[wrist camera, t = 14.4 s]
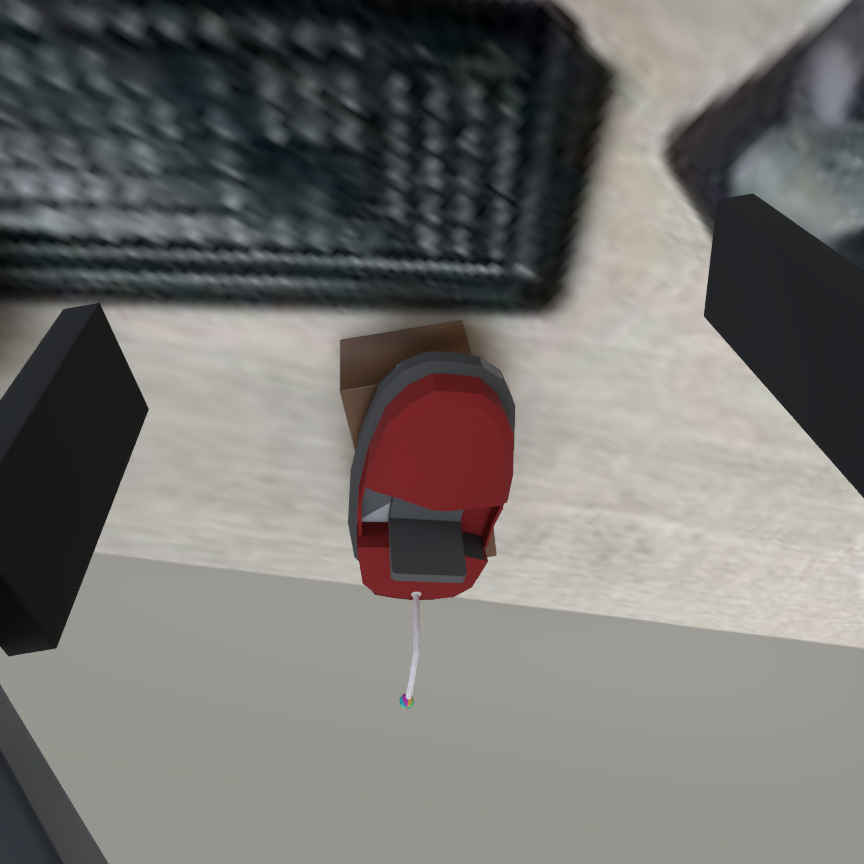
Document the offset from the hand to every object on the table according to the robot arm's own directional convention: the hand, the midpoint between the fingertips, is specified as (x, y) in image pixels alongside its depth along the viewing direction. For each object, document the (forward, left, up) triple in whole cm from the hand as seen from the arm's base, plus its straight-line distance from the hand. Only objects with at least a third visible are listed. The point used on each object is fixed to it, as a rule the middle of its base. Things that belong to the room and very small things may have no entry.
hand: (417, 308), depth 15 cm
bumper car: (+1, +23, -21) cm, 31 cm away
